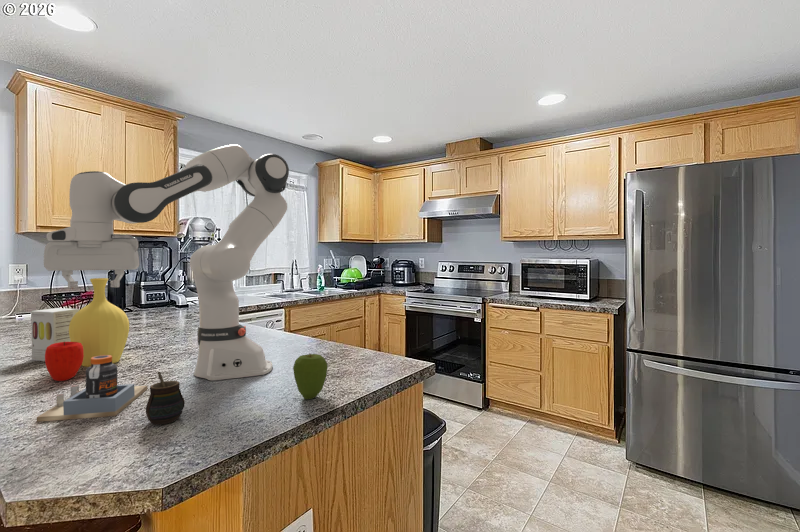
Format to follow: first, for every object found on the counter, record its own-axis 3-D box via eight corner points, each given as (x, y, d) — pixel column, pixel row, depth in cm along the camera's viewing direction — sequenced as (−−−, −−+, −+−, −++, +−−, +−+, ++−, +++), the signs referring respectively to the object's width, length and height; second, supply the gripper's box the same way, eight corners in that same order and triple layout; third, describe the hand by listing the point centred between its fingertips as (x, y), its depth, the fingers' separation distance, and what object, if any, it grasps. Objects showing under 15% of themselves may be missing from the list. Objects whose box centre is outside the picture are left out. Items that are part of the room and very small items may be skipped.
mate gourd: (156, 430, 82) (155, 382, 82) (138, 422, 86) (137, 376, 86) (191, 418, 88) (190, 373, 88) (172, 411, 92) (171, 368, 92)
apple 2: (315, 406, 95) (315, 358, 95) (285, 401, 98) (285, 355, 98) (333, 394, 103) (333, 350, 103) (305, 390, 106) (305, 347, 106)
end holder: (134, 395, 99) (134, 383, 99) (115, 411, 89) (115, 398, 89) (88, 399, 97) (87, 386, 97) (63, 415, 87) (63, 401, 87)
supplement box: (30, 360, 135) (29, 311, 135) (58, 353, 144) (57, 307, 144) (54, 361, 134) (53, 311, 133) (80, 355, 143) (79, 308, 142)
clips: (96, 393, 101) (96, 383, 101) (78, 405, 93) (78, 394, 93) (73, 395, 99) (73, 385, 99) (52, 407, 91) (52, 396, 91)
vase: (106, 369, 125) (104, 280, 124) (55, 369, 125) (53, 280, 124) (140, 356, 141) (139, 277, 140) (95, 356, 141) (94, 277, 140)
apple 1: (91, 376, 118) (91, 339, 118) (58, 385, 110) (57, 346, 110) (71, 373, 121) (70, 337, 121) (37, 381, 113) (36, 343, 113)
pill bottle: (101, 410, 90) (100, 360, 89) (79, 408, 91) (78, 359, 90) (124, 401, 96) (123, 354, 95) (103, 399, 97) (102, 352, 96)
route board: (147, 389, 107) (147, 385, 107) (115, 415, 89) (115, 410, 89) (82, 393, 104) (82, 389, 104) (36, 421, 86) (36, 416, 86)
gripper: (142, 235, 109) (143, 285, 110) (53, 234, 104) (55, 287, 105) (133, 234, 103) (135, 287, 104) (38, 233, 98) (40, 290, 98)
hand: (94, 287), depth 104 cm, fingers open, 8 cm apart
